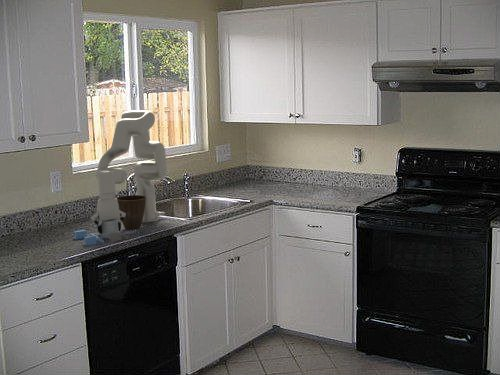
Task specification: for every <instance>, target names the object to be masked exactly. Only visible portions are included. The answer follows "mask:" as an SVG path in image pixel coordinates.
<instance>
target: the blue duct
mask: <svg viewBox="0 0 500 375" xmlns="http://www.w3.org/2000/svg"><path fill="white" fill-rule="evenodd" d="M74 239H75V240H80V239H81V240H82V239H84V240H83V241H84V242H83V243H84V245H85V246H91V245H92V246H93V245H98V244H97V241H98V242H100V243H101V244H105V240H104V239H103V238H101V237H99V236H97V235H95V234H94V233H89V236H87V230H85V229H81V230H80V229H79V230H74Z"/></svg>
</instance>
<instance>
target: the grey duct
mask: <svg viewBox="0 0 500 375" xmlns="http://www.w3.org/2000/svg"><path fill="white" fill-rule="evenodd" d="M98 235H99V236H100V233H99V232H98ZM129 238H130V237H129V236H128V235H127V234H124V233H123V232H121V231H119V232H117V233H110V234H109V238H108V239H109V241H110V242H111V241H113V242H119V241H118V240H120V241H122V239H125V240H129Z"/></svg>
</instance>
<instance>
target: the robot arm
mask: <svg viewBox="0 0 500 375" xmlns="http://www.w3.org/2000/svg"><path fill="white" fill-rule="evenodd" d="M155 122H156V117H155V114H154V112H152V111H150V110H127V111H124V112H123V113H122V114H121V119H119V120H118V121H117V122H116V124H115V129H114V133H113V137H112V138H113V139H112V143H111V146H110V147H109V149H107V151H106V152H105V153H103V155H102V156H101V157H100V159H99V162H98V166H97V171H96V178H97V179H96V180H97V181H98V194H99V195H98V196H99V199H97V203H96V212H95V213H94V214H93V215H91V217H90V219H91V221H92V222H93V223H94V224H95V225H96V227H97V233H98V234H99V233H100V234H102V226H101V223H102V222H103V221H106V220H114V219H118V226H119V232H121V229H122V221H123V219H124V217H125V215H126V213H124V212H122V211H120V210H119V205H118V201H117V197H119V192H116V185H118V184H119V185H120V184H123V183H124V182H126V180H127V178H128V174H127V171H126V170H125V169H124V168H121V167H109V165H110V163H111V162H112V161H114V160H115V159H116V158H119V157H121V156H123V155H125V154H127V153H128V152H129V149H130V146H131V141H133V149H134V155H135V157H136V158H137V159H139V160H142V161H138V162H137V163H135V165H134V166H133V174H134V179H135V182H136V183H135V184H136V195H141V196H145V197H146V204H145V211H144V216H143V220H142V223H143V224H144V223H153V222H158V221H160V216H165V214H166V212H165V211H157V206H156V205H157V202H156V187H155V184H154V182H153V181H154V180H155V181H156V180H157V181H161V180H164V179H166V177H167V173H168V168H167V157H166V149H165V146H164V143H162V142H161V141H157V140H155V141H153V140H151V139H150V138H151V137H150V132H149V131H150V129H152V127H153V126H154V124H155ZM143 160H144V161H143ZM145 160H148V161H145ZM149 160H153V161H149ZM120 214H122V216H121V217H120ZM96 218H97V220H96ZM142 223H141V224H142Z"/></svg>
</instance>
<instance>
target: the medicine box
mask: <svg viewBox="0 0 500 375" xmlns="http://www.w3.org/2000/svg"><path fill="white" fill-rule="evenodd" d="M101 226H102V234H100V235H99V236H100V238H101V239H109V234H110V233H117V232H120V231H119V226H118V219H114V220H106V221H103V222H102V223H101Z"/></svg>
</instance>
